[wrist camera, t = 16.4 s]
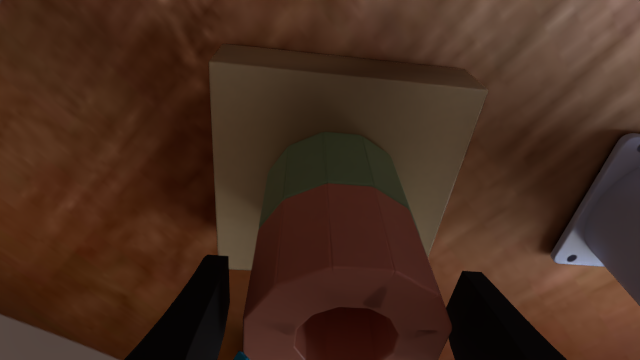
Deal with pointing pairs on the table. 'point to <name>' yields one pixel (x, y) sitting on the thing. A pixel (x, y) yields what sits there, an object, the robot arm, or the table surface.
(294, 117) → the birch block
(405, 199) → the green ring
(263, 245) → the coral ring
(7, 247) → the table surface
